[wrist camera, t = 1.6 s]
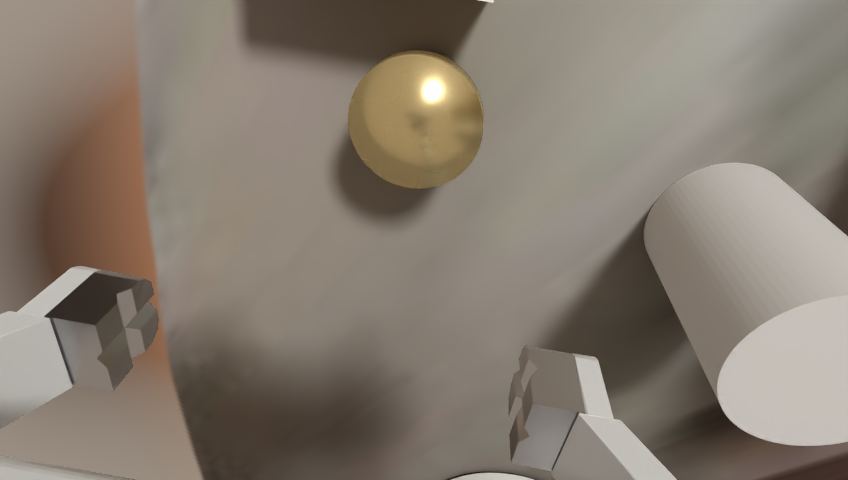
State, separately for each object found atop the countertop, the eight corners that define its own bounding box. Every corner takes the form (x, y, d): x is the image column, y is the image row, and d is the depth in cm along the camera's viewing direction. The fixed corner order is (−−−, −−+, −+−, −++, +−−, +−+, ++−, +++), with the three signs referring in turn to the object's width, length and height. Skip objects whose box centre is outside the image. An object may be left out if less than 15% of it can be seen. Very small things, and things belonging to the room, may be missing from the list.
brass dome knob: (473, 154, 30) (469, 198, 25) (368, 137, 30) (344, 176, 25) (495, 43, 26) (495, 68, 22) (377, 24, 27) (352, 44, 22)
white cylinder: (666, 299, 33) (742, 462, 23) (625, 198, 30) (693, 336, 20) (806, 255, 30) (964, 418, 20) (778, 138, 27) (949, 262, 17)
